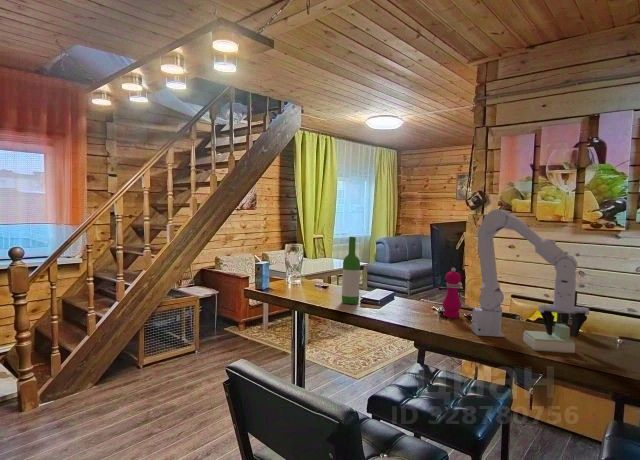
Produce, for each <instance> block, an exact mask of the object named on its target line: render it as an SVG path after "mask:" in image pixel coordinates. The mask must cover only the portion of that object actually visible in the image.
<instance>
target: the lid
mask: <svg viewBox="0 0 640 460" xmlns="http://www.w3.org/2000/svg"><path fill="white" fill-rule="evenodd" d="M524 333H526V334H527V335H528V336H529V337H531V338H532V339H533V340H534V341H542V342H557V343H573V344H574V343H575V341H574V340H573V339H571V338H570V336H571V333H570V327H568V326H566V325H565V324H556V323H554V332H553V331H552V335H548V334H547V331H538V330H537V331H536V330H535V331H534V330H524V332H523V334H524Z"/></svg>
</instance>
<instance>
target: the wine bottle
mask: <svg viewBox="0 0 640 460" xmlns="http://www.w3.org/2000/svg"><path fill="white" fill-rule="evenodd" d="M356 243H357V242H356V236H349V238H348V254H347V255H345V257H344V259H343V261H342V278H341V279H342V284H341V302H342V303H343V304H346V305H356V304H358V303H359V301H360V278H361V276H360V275H361V261H360V258H359V257H358V256H357V254H356Z"/></svg>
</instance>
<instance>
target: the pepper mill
mask: <svg viewBox="0 0 640 460" xmlns="http://www.w3.org/2000/svg"><path fill="white" fill-rule="evenodd" d="M456 269H457V268H455V267H451V270H450V271H448V272H447V273H446V274H445V281H446V287H447V291H446V295H445V297H444V299H443V301H442V308H443V309H444V310H443V312H442V313H443V314H444V315H443V314H442V315H443V316H444V317H445V316H446V317H445V318H449V319H458V318H460V313H461V312H459V311H460V310H461V308H462V303H461V302H462V301H461V300H460V297H459V293H458V290H459V288H460V282H461V280H462V276H461V274H460V273H459V272H457V271H456Z"/></svg>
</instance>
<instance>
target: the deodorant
mask: <svg viewBox="0 0 640 460" xmlns="http://www.w3.org/2000/svg"><path fill="white" fill-rule="evenodd" d="M577 302H578V291H577V290H575V303H574V306H575V307H578V306H577V304H578V303H577ZM555 324H565V325H566V326H568V327H570V334H572V316H571V313H556V323H555Z"/></svg>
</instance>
